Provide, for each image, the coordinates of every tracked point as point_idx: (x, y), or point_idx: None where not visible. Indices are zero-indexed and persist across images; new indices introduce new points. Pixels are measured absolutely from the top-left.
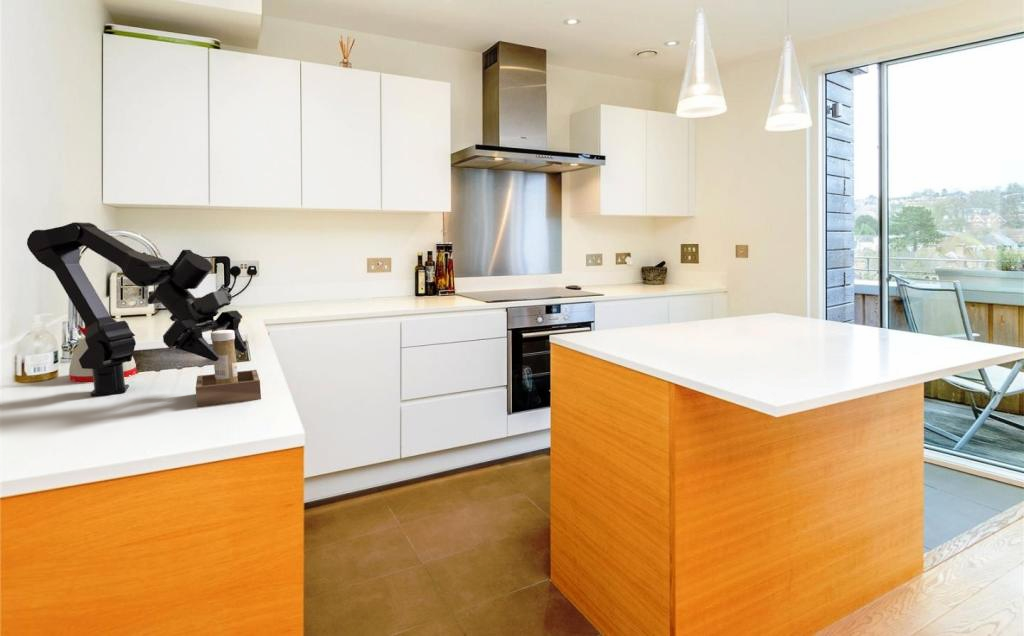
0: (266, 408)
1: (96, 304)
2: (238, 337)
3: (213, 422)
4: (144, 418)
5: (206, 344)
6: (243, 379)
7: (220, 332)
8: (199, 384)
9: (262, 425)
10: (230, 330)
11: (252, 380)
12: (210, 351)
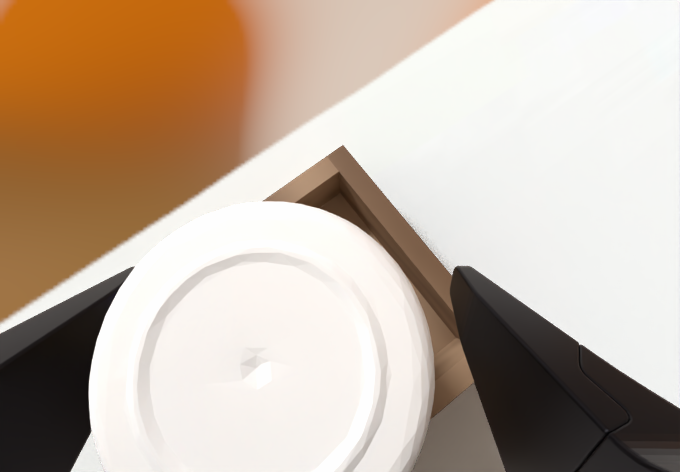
0: (439, 100)
1: None
2: (35, 339)
3: (603, 164)
4: None
5: (569, 354)
6: None
7: (393, 303)
8: (453, 377)
9: (582, 24)
10: (204, 259)
11: (344, 176)
12: (523, 307)
